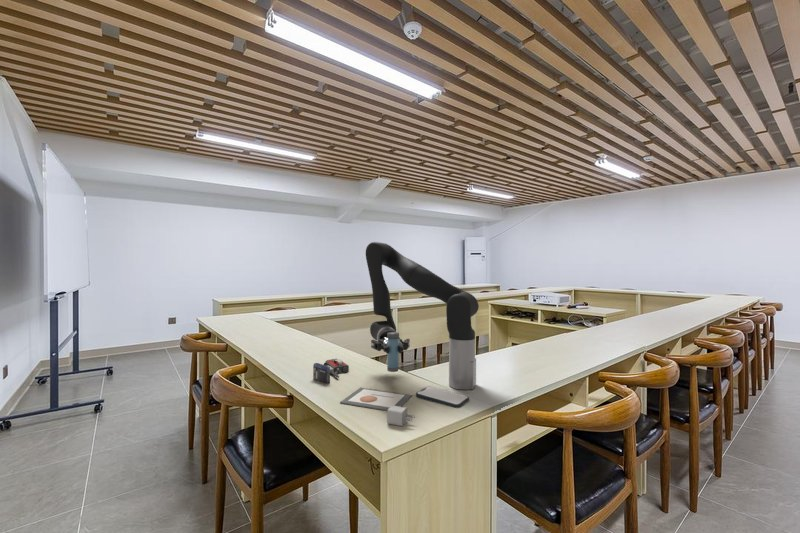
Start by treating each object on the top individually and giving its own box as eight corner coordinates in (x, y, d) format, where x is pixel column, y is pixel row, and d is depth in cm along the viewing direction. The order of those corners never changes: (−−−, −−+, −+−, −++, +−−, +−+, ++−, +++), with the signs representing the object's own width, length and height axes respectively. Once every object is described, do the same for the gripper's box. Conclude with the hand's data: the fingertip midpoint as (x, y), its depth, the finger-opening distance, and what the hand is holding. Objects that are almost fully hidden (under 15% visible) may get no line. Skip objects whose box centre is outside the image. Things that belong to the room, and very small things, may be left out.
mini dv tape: (313, 379, 135) (313, 363, 135) (316, 378, 136) (316, 362, 136) (326, 384, 130) (326, 367, 129) (330, 383, 131) (329, 366, 131)
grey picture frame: (411, 396, 118) (411, 394, 118) (396, 412, 105) (396, 410, 105) (360, 388, 125) (360, 386, 125) (340, 403, 112) (340, 401, 112)
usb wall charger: (393, 418, 101) (393, 404, 101) (415, 422, 98) (415, 408, 98) (387, 424, 97) (387, 409, 97) (410, 429, 94) (410, 414, 94)
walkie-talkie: (318, 367, 151) (335, 381, 134) (318, 357, 151) (335, 369, 134) (338, 364, 155) (357, 377, 138) (338, 354, 155) (357, 366, 138)
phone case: (470, 401, 115) (428, 390, 124) (470, 396, 115) (428, 385, 124) (458, 410, 108) (414, 398, 117) (458, 405, 108) (414, 393, 117)
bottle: (400, 369, 116) (400, 332, 116) (396, 372, 112) (396, 334, 112) (389, 367, 117) (390, 331, 117) (385, 371, 114) (385, 333, 113)
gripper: (368, 328, 128) (372, 338, 111) (407, 327, 130) (416, 337, 113) (368, 349, 128) (371, 362, 111) (407, 348, 130) (416, 361, 113)
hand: (394, 350), depth 112 cm, fingers closed on bottle, 3 cm apart
